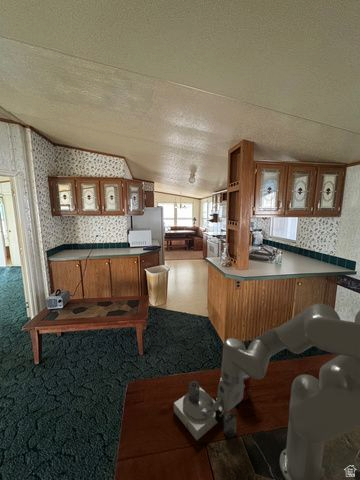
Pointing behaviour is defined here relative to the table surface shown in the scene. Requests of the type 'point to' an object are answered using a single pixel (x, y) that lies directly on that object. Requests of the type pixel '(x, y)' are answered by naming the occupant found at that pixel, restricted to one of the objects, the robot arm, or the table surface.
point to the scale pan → (199, 406)
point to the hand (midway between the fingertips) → (227, 414)
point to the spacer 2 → (229, 424)
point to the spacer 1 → (194, 391)
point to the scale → (194, 420)
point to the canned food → (246, 386)
